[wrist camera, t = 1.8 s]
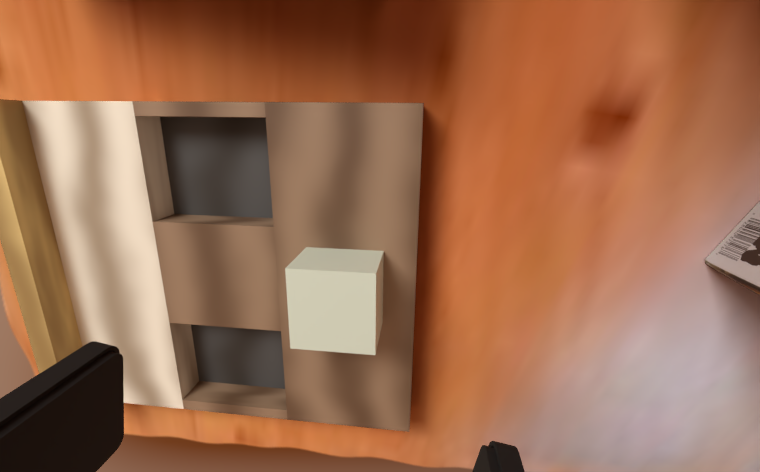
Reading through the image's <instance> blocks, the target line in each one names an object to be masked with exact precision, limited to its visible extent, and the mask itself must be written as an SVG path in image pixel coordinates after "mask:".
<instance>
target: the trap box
mask: <svg viewBox="0 0 760 472" xmlns="http://www.w3.org/2000/svg"><path fill="white" fill-rule="evenodd" d="M423 108H424V104H423V103H319V102H140V101H17V100H1V99H0V240H1V244H2V247H3V251H4V254H5V258H6V261H7V264H8V268H9V271H10V275H11V278H12V282H13V285H14V288H15V292H16V295H17V299H18V302H19V306H20V309H21V312H22V316H23V319H24V323H25V326H26V330H27V333H28V336H29V340H30V343H31V347H32V350H33V354H34V357H35V360H36V364H37V367H38V371H39V374H40V373H42V372H43V371H45V370H46V369H48V368H49V367H51V366H53V365H54V364H56V363H57V362H59V361H60V360H62V359H64V358H65V357H67V356H68V355H70V354H71V353H73V352H75V351H76V350H78V349H79V348H81V347H82V346H84V345H86V344H87V343H89V342H93V341H96V342H100V343H104V344H108V345H112V346H115V347H117V348H118V349H119V352H120V354H122V356H123V386H124V403H130V404H140V405H150V406H160V407H169V408H179V409H189V410H199V411H209V412H219V413H229V414H239V415H249V416H259V417H268V418H278V419H288V420H298V421H308V422H318V423H328V424H338V425H348V426H357V427H367V428H377V429H387V430H397V431H407V432H409V430H410V411H411V388H412V365H413V342H414V318H415V295H416V271H417V248H418V225H419V201H420V178H421V155H422V131H423ZM306 247H313V248H334V249H354V250H374V251H384V263H383V323H382V327H381V332H380V336H379V341H378V345H377V350H376V355H366V354H353V353H340V352H328V351H315V350H303V349H290V336H289V320H288V305H287V289H286V274H285V268H286V267H287V266H288V265H289V264H290V263H291V262H292V261H293V260H294V259H295V258H296V257H297V256H298V255H299V254H300V253H301V252H302V251H303V250H304V249H305V248H306Z"/></svg>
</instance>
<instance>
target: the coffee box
mask: <svg viewBox="0 0 760 472" xmlns="http://www.w3.org/2000/svg"><path fill="white" fill-rule="evenodd" d="M705 263H706V264H707V265H709V266H710V267H712V268H714V269H715V270H717V271H719V272H720V273H722V274H724V275H726V276H727V277H729V278H731V279H733V280H734V281H736V282H738V283H739V284H741V285H743V286H745V287H746V288H748V289H750V290H751V291H753V292H755V293H757V294H758V295H760V201H759V202H758V203H757V204H756V206H755V207H754V208H753V209H752V210H751V211H750V212H749V213H748V214H747V215H746V216H745V217H744V218H743V219H742V220H741V221H740V223H739V224H738V225H737V226H736V227H735V228H734V229H733V230H732V231H731V232H730V233H729V234H728V235H727V236H726V237H725V239H724V240H723V241H722V242H721V243H720V244H719V245H718V246H717V247H716V248H715V249H714V250H713V251H712V253H711V254H710V255H709V256H708V257H707V258H706V259H705Z"/></svg>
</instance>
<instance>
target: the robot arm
mask: <svg viewBox="0 0 760 472" xmlns="http://www.w3.org/2000/svg"><path fill="white" fill-rule="evenodd" d="M123 435H124V386H123V356H122V354H120V352H119V349H118V348H117V347H115V346H112V345H108V344H104V343H100V342H96V341H93V342H89V343H87V344H86V345H84V346H82V347H81V348H79V349H78V350H76V351H75V352H73V353H71V354H70V355H68V356H67V357H65V358H64V359H62V360H60V361H59V362H57V363H56V364H54V365H53V366H51V367H49V368H48V369H46V370H45V371H43V372H42V373H40V374H38V375H37V376H35V377H34V378H32V379H31V380H29V381H27V382H26V383H24V384H23V385H21V386H20V387H18V388H17V389H15V390H13V391H12V392H10V393H9V394H7V395H5V396H4V397H2V398H1V399H0V472H96V471H97V470H98V469H99V468H100V467H101V466H102V465H103V464H104V463H105V462H106V461H107V460H108V459H109V457H110V456H111V455H112V454H113V453H114V452H115V451H116V450H117V449H118V447H119V446H120V444H121V442H122V439H123ZM473 472H524V468H523V465H522V462H521V458H520V455H519V452H518V449H517V448H516V447H515V446H511V445H507V444H503V443H499V442H495V441H491V442H490V444H489V446H485V445H483V446H482V447H481V449H480V452H479V455H478V458H477V461H476V463H475V466H474V469H473Z"/></svg>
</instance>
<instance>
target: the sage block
mask: <svg viewBox="0 0 760 472" xmlns="http://www.w3.org/2000/svg"><path fill="white" fill-rule="evenodd" d="M383 263H384V251H374V250H354V249H334V248H313V247H306V248H305V249H304V250H303V251H302V252H301V253H300V254H299V255H298V256H297V257H296V258H295V259H294V260H293V261H292V262H291V263H290V264H289V265H288V266H287V267H286V268H285V274H286V289H287V305H288V320H289V336H290V349H303V350H315V351H328V352H340V353H353V354H366V355H376V350H377V345H378V341H379V336H380V332H381V327H382V323H383Z"/></svg>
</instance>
